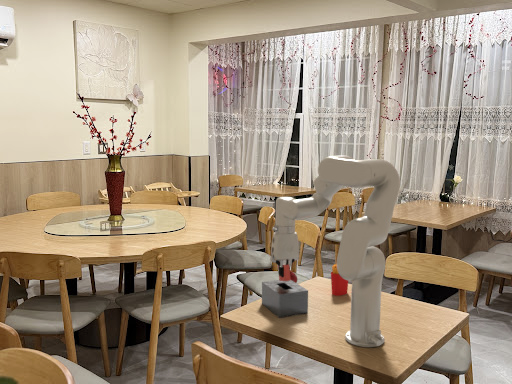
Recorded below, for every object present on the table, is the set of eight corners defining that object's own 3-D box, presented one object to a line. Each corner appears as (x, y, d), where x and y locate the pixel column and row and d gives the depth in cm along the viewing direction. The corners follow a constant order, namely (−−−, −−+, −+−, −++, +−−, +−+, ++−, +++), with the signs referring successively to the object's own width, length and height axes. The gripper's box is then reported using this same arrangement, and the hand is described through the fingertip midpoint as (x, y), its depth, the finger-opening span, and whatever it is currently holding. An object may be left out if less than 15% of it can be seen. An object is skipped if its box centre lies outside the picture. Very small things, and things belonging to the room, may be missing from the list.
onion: (298, 286, 220) (298, 268, 219) (295, 290, 215) (296, 272, 214) (285, 285, 222) (285, 267, 221) (282, 288, 216) (282, 271, 215)
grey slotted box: (307, 313, 188) (308, 290, 186) (279, 317, 183) (279, 294, 182) (288, 299, 202) (288, 278, 201) (261, 303, 198) (262, 282, 196)
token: (283, 280, 194) (290, 280, 188) (279, 280, 193) (286, 281, 188) (282, 264, 194) (289, 264, 189) (277, 265, 194) (284, 265, 188)
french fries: (335, 296, 206) (335, 266, 205) (328, 293, 210) (329, 264, 208) (351, 293, 211) (352, 263, 210) (344, 290, 215) (345, 261, 213)
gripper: (270, 232, 182) (269, 281, 185) (307, 229, 188) (306, 276, 191) (262, 228, 189) (261, 275, 191) (298, 226, 195) (297, 271, 198)
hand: (284, 275), depth 191 cm, fingers closed on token, 1 cm apart
